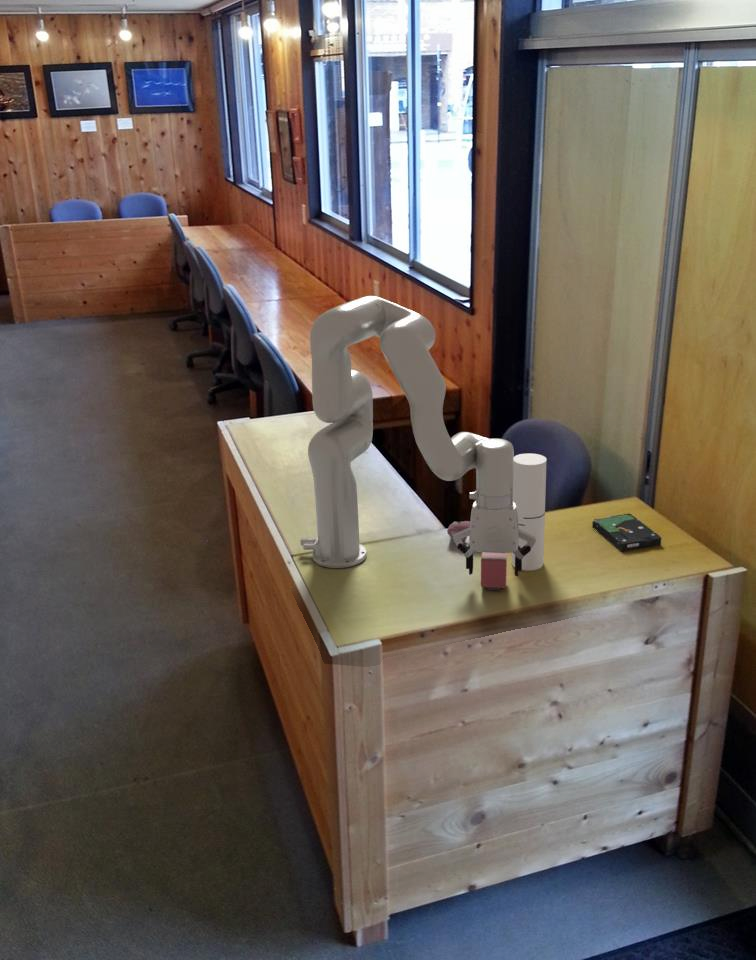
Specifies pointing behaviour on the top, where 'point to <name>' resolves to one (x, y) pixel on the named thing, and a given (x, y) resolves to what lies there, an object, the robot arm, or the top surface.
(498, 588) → the post
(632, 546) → the disk drive
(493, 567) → the pink matte cube
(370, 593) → the top surface
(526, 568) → the cylindrical container
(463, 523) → the purple lumpy figure
